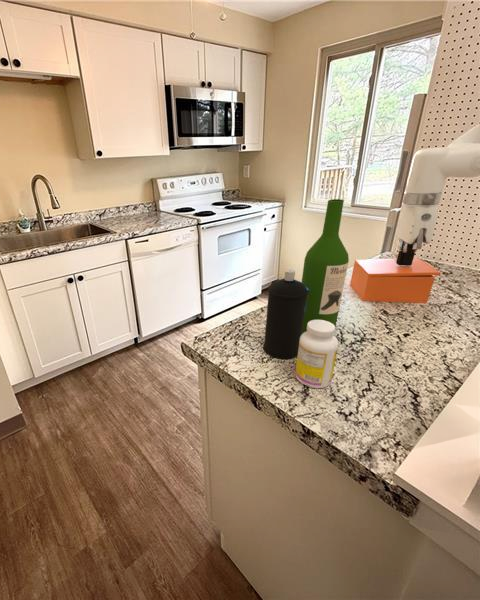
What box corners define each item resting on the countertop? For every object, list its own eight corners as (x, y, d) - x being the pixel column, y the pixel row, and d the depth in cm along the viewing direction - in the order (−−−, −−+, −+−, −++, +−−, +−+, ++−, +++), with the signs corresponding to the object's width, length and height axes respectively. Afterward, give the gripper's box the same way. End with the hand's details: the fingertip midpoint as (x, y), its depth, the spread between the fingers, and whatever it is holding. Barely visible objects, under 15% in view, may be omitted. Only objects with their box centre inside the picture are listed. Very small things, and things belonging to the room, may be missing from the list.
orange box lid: (417, 260, 94) (417, 257, 94) (440, 275, 83) (440, 272, 83) (354, 262, 99) (355, 259, 99) (368, 276, 88) (368, 273, 88)
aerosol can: (281, 363, 69) (291, 281, 61) (255, 346, 76) (260, 269, 68) (308, 352, 72) (321, 272, 63) (280, 336, 79) (289, 262, 70)
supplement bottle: (316, 366, 67) (325, 314, 62) (338, 386, 61) (351, 330, 56) (288, 372, 67) (294, 320, 61) (307, 392, 61) (317, 337, 55)
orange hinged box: (406, 285, 98) (413, 262, 94) (426, 303, 87) (435, 277, 84) (349, 284, 102) (354, 262, 99) (362, 301, 91) (368, 276, 88)
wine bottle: (314, 343, 75) (337, 205, 61) (287, 326, 83) (303, 201, 69) (343, 334, 77) (371, 199, 63) (314, 318, 85) (334, 195, 71)
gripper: (455, 202, 75) (432, 273, 82) (424, 194, 87) (407, 256, 95) (417, 204, 77) (399, 273, 85) (392, 196, 90) (378, 256, 97)
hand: (403, 264), depth 90 cm, fingers closed
